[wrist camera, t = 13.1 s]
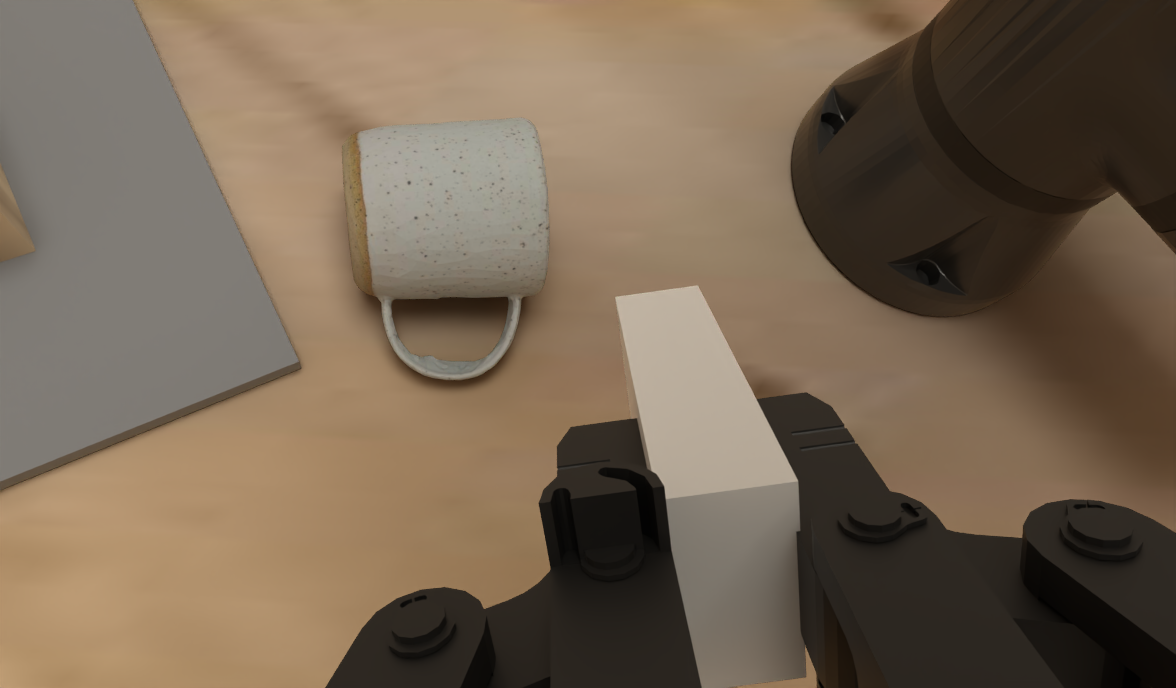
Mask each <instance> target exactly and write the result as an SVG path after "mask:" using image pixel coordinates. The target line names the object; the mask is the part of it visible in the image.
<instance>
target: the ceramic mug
mask: <svg viewBox="0 0 1176 688" xmlns="http://www.w3.org/2000/svg"><path fill="white" fill-rule="evenodd" d="M342 164H343V184H344V194H345V203H346V214H347V224H348V235H349V245H350V253H351V261H352V270H353V277H354V281H355V283H356V284H357V286H358V288H359V289H361V290H362V291H363V292H365V293H366V294H368V295H372V296H375V297H377V298H378V299H379V300H380V302H381V307H382V318H383V323H384V328H385V331H386V334H387V337H388V340H389V342H390V344H391V346H392V348H393V350H394V351H395V353H396V354H397V355H398V357H399V358H400V359H401V360H402V361H403V362H404V363H405V364H406V365H408V366H409V367H410V368H412V369H413V370H415V371H417V372H418V373H420V374H422V375H424V376H427V377H432V378H437V379H443V380H464V379H469V378H474V377H477V376H480V375H481V374H483V373H484V372H486V371H487V370H489V369H491V368H493V367H494V366H495V365H496V364H497V363H498V361H499V360H500V359H501V358H502V357H503V355H504V354H505V353H506V351H507V350H508V348H509V346H510V345H511V343H512V340H513V338H514V335H515V332H516V329H517V326H518V321H519V315H520V310H521V299H522V298H523V297H526V296H534V295H536V294H538V293H539V292H540V291H541V289H542V288H543V286H544V283H545V278H546V274H547V269H548V256H549V204H548V188H547V181H546V173H545V165H544V159H543V155H542V150H541V145H540V140H539V136H538V133H537V130H536V128H535V126H534V125H533V124H532V123H531V122H530V121H529V120H527V119H525V118H509V119H499V120H479V121H460V122H446V123H434V124H416V125H394V126H384V127H378V128H374V129H370V130H366V131H361V132H357V133H355V134H353V135H351V136H350V137H349V138H348V139H347V140H346V141H345V143H344V144H343V146H342ZM441 297H469V298H481V297H507V298H508V301H509V305H508V314H507V319H506V323H505V327H504V330H503V333H502V335H501V338H500V340H499V342H498V343H497V345H496V346H495V348H494V349H493V351H492V352H491V353H490V354H488V355H487V357H485V358H483V359H479V360H477V361H474V362H472V361H444V360H437V359H435V358H434V357H433V356H424V357H420V356H417V355H413V354H411V353H410V352H409V351H408V350H407V349H406V347H405V346H404V345H403V344H402V342H401V341H400V339H399V337H398V334H397V332H396V330H395V326H394V322H393V319H392V310H391V304H392V301H393V300H394V299H439V298H441Z"/></svg>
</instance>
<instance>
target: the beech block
mask: <svg viewBox="0 0 1176 688" xmlns="http://www.w3.org/2000/svg"><path fill="white" fill-rule="evenodd" d="M34 251H36V250H35V247H34V245H33V242H32V240H31V237H30V235H29V232H28V230H27V228H26V225H25V223H24V220H23V218H22V215H21V213H20V210H19V208H18V205H17V203H16V200H15V198H14V195H13V193H12V191H11V188H10V186H9V183H8V181H7V178H6V176H5V173H4V171H3V168H2V166H1V163H0V262H3V261H6V260H9V259H12V258H15V257H18V256H21V255H25V254H28V253H31V252H34Z"/></svg>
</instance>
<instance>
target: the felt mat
mask: <svg viewBox="0 0 1176 688" xmlns="http://www.w3.org/2000/svg"><path fill="white" fill-rule="evenodd" d="M0 163H1V166H2V168H3V171H4V173H5V176H6V178H7V181H8V183H9V186H10V188H11V191H12V193H13V195H14V198H15V200H16V203H17V205H18V208H19V210H20V213H21V215H22V218H23V220H24V223H25V225H26V228H27V230H28V232H29V235H30V237H31V240H32V242H33V245H34V247H35V250H36V251H34V252H31V253H28V254H25V255H21V256H18V257H15V258H12V259H9V260H6V261H3V262H0V490H2V489H5V488H7V487H9V486H12V485H14V484H17V483H19V482H22V481H24V480H27V479H29V478H32V477H34V476H37V475H39V474H42V473H44V472H46V471H49V470H51V469H54V468H56V467H59V466H61V465H64V464H66V463H69V462H71V461H74V460H76V459H79V458H81V457H84V456H86V455H88V454H91V453H93V452H96V451H98V450H101V449H103V448H106V447H108V446H111V445H113V444H116V443H118V442H121V441H123V440H125V439H128V438H130V437H133V436H135V435H138V434H140V433H143V432H145V431H148V430H150V429H153V428H155V427H158V426H160V425H162V424H165V423H167V422H170V421H172V420H175V419H177V418H180V417H182V416H185V415H187V414H190V413H192V412H195V411H197V410H199V409H202V408H204V407H207V406H209V405H212V404H214V403H217V402H219V401H222V400H224V399H227V398H229V397H232V396H234V395H237V394H239V393H241V392H244V391H246V390H249V389H251V388H254V387H256V386H259V385H261V384H264V383H266V382H269V381H271V380H274V379H276V378H278V377H281V376H283V375H286V374H288V373H291V372H293V371H296V370H298V369H301V366H300V363H299V360H298V358H297V356H296V354H295V352H294V349H293V347H292V345H291V343H290V341H289V339H288V336H287V334H286V332H285V330H284V328H283V326H282V323H281V321H280V319H279V317H278V315H277V313H276V310H275V308H274V306H273V304H272V302H271V300H270V297H269V295H268V293H267V291H266V289H265V287H264V284H263V282H262V280H261V278H260V276H259V274H258V271H257V269H256V267H255V265H254V263H253V261H252V258H251V256H250V254H249V252H248V250H247V247H246V245H245V243H244V241H243V239H242V237H241V234H240V232H239V230H238V228H237V226H236V224H235V221H234V219H233V217H232V215H231V213H230V211H229V208H228V206H227V204H226V202H225V200H224V198H223V195H222V193H221V191H220V189H219V187H218V185H217V182H216V180H215V178H214V176H213V174H212V172H211V169H210V167H209V165H208V163H207V161H206V159H205V156H204V154H203V152H202V150H201V148H200V146H199V143H198V141H197V139H196V137H195V135H194V133H193V130H192V128H191V126H190V124H189V122H188V120H187V117H186V115H185V113H184V111H183V109H182V106H181V104H180V102H179V100H178V98H177V96H176V93H175V91H174V89H173V87H172V85H171V83H170V80H169V78H168V76H167V74H166V72H165V70H164V67H163V65H162V63H161V61H160V59H159V57H158V54H157V52H156V50H155V48H154V46H153V44H152V41H151V39H150V37H149V35H148V33H147V31H146V28H145V26H144V24H143V22H142V20H141V18H140V15H139V13H138V11H137V9H136V7H135V5H134V2H133V0H0Z"/></svg>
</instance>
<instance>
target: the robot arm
mask: <svg viewBox="0 0 1176 688" xmlns="http://www.w3.org/2000/svg"><path fill="white" fill-rule="evenodd" d="M792 176H793V184H794V189H795V193H796V197H797V201H798V204H799V207H800V210H801V212H802V215H803V217H804V219H805V222H806V224H807V226H808V228H809V229H810V231H811V233H812V235H813V237H814V238H815V240H816V241H817V243H818V244H819V246H820V247H821V248H822V250H823V251H824V252H825V254H826V255H827V256H828V257H829V259H830V260H831V261H832V262H833V263H834V264H835V265H836V266H837V267H838V268H839V269H840V270H841V271H842V272H843V273H844V274H845V275H846V276H847V277H848V278H849V279H851V280H852V281H853V282H854V283H855V284H857V285H858V286H860V287H861V288H862V289H864V290H865V291H867V292H868V293H870V294H871V295H873V296H875V297H877V298H878V299H880V300H882V301H884V302H886V303H888V304H890V305H893V306H895V307H898V308H900V309H903V310H906V311H910V312H913V313H918V314H923V315H929V316H958V315H964V314H968V313H972V312H975V311H978V310H981V309H983V308H985V307H987V306H989V305H991V304H993V303H995V302H997V301H998V300H1000V299H1002V298H1004V297H1006V296H1008V295H1010V294H1012V293H1013V292H1015V291H1016V290H1018V289H1020V288H1021V287H1022V286H1023V285H1025V284H1026V283H1027V282H1028V281H1030V280H1031V279H1032V278H1033V277H1034V276H1035V275H1036V274H1037V273H1038V272H1039V270H1040V269H1041V268H1042V267H1043V266H1044V264H1045V263H1046V262H1047V261H1048V259H1049V258H1050V257H1051V256H1052V254H1053V253H1054V252H1055V251H1056V249H1057V248H1058V247H1059V246H1060V245H1061V243H1062V242H1063V241H1064V240H1065V238H1066V237H1067V236H1068V235H1069V233H1070V232H1071V231H1072V230H1073V228H1074V227H1075V226H1076V225H1077V223H1078V222H1079V221H1080V220H1081V218H1082V217H1083V216H1084V215H1085V214H1086V212H1087V211H1088V210H1089V209H1090V208H1091V207H1093V206H1095V205H1096V204H1098V203H1099V202H1101V201H1103V200H1104V199H1106V198H1108V197H1109V196H1111V195H1113V194H1114V193H1117V192H1118V193H1119V194H1120V195H1121V196H1122V197H1123V198H1124V199H1125V200H1126V201H1127V202H1128V203H1129V204H1130V205H1131V206H1132V207H1133V208H1134V209H1135V211H1136V212H1137V213H1138V214H1139V215H1140V216H1141V217H1142V218H1143V219H1144V220H1145V221H1146V222H1147V223H1148V224H1149V225H1150V226H1151V228H1152V229H1153V230H1154V231H1155V232H1156V234H1157V235H1158V236H1159V237H1160V238H1161V239H1162V240H1163V241H1164V242H1165V243H1166V244H1167V245H1168V246H1169V247H1170V249H1171V250H1172V251H1173V252H1174V253H1175V254H1176V0H950V1H949V2H948V3H947V4H946V6H945V7H944V8H943V9H942V10H941V11H940V12H939V13H938V14H937V16H936V17H935V18H934V19H933V20H932V21H931V22H930V23H929V24H928V25H927V26H926V27H925V28H924V29H923V30H921V31H919V32H918V33H916V34H914V35H912V36H910V37H908V38H906V39H904V40H903V41H901V42H899V43H897V44H895V45H893V46H891V47H890V48H888V49H886V50H884V51H882V52H880V53H878V54H876V55H875V56H873V57H871V58H869V59H867V60H865V61H863V62H861V63H860V64H858V65H856V66H854V67H852V68H851V69H849V70H847V71H846V72H845V73H843V74H842V75H841V76H840V77H838V78H837V79H836V80H835V81H834V82H833V83H832V84H831V85H830V86H829V87H828V88H827V89H826V91H825V92H824V93H823V94H822V95H821V97H820V98H819V99H818V100H817V101H816V103H815V104H814V105H813V106H812V107H811V109H810V110H809V111H808V113H807V114H806V116H805V117H804V119H803V121H802V123H801V125H800V127H799V129H798V132H797V135H796V138H795V142H794V147H793V154H792ZM615 300H616V308H617V315H618V323H619V331H620V339H621V347H622V354H623V362H624V370H625V378H626V386H627V394H628V401H629V409H630V417H631V419H627V420H619V421H612V422H605V423H597V424H590V425H583V426H576V427H571V428H570V429H569V430H568V432H567V433H566V435H565V436H564V437H563V439H562V440H561V442H560V443H559V444H558V446H557V468H558V470H557V477H556V478H555V479H554V480H553V481H552V482H551V483H550V484H549V485H548V486H547V487H546V488H545V489H544V490H543V493H542V496H541V499H540V501H539V507H540V513H541V518H542V523H543V529H544V534H545V540H546V545H547V551H548V556H549V561H550V567H551V570H550V572H549V573H548V574H547V575H546V576H545V577H544V578H543V579H542V580H541V581H540V582H539V583H538V584H536V585H535V586H534V587H532V588H531V589H529V590H528V591H526V592H525V593H523V594H521V595H519V596H516V597H514V598H512V599H510V600H508V601H505V602H503V603H500V604H497V605H494V606H492V607H489V608H486V609H483V607H482V604H481V602H480V601H479V600H478V599H476V598H475V597H473V596H472V595H470V594H469V593H467V592H466V591H462V590H457V589H451V588H446V587H443V588H433V589H424V590H419V591H416V592H414V593H411V594H408V595H405V596H402V597H400V598H397V599H396V600H394V601H393V602H391V603H390V604H388V605H386V606H385V607H383V608H382V609H380V610H379V611H377V612H376V613H375V614H374V616H373V617H372V618H371V619H370V620H369V621H368V622H367V623H366V625H365V626H364V627H363V628H362V629H361V631H360V633H359V634H358V636H357V637H356V639H355V641H354V642H353V644H352V645H351V647H350V649H349V650H348V652H347V654H346V655H345V657H344V658H343V660H342V662H341V663H340V665H339V666H338V668H337V670H336V671H335V673H334V675H333V676H332V678H331V679H330V681H329V683H328V684H327V686H326V687H325V688H728V687H735V686H743V685H751V684H758V683H766V682H773V681H781V680H789V679H796V678H804V677H806V659H805V645H806V648H807V650H808V653H809V656H810V658H811V661H812V663H813V666H814V668H815V671H816V673H817V688H1176V533H1175V532H1173V531H1171V530H1170V529H1168V528H1166V527H1165V526H1163V525H1161V524H1160V523H1158V522H1156V521H1155V520H1153V519H1151V518H1148V517H1146V516H1144V515H1142V514H1140V513H1137V512H1135V511H1133V510H1131V509H1129V508H1126V507H1122V506H1117V505H1113V504H1109V503H1105V502H1102V501H1094V500H1074V499H1070V500H1064V501H1057V502H1051V503H1046V504H1045V505H1043V506H1041V507H1039V508H1037V509H1035V510H1033V511H1031V512H1030V514H1029V516H1028V517H1027V519H1026V521H1025V523H1024V525H1023V537H1022V538H1014V537H1000V536H986V535H974V534H966V533H959V532H954V531H950V530H947V529H946V528H945V527H944V525H943V524H942V523H941V521H940V520H939V519H938V517H937V516H936V515H935V514H934V513H933V512H932V511H931V510H929V509H928V508H927V507H926V506H925V505H924V504H923V503H921V502H919V501H917V500H915V499H912V498H910V497H908V496H906V495H903V494H901V493H896V492H890V491H889V489H888V488H887V486H886V485H885V483H884V482H883V481H882V479H881V478H880V476H879V475H878V473H877V472H876V470H875V469H874V467H873V466H872V465H871V463H870V462H869V460H868V459H867V457H866V456H865V454H864V453H863V452H862V450H861V449H860V447H859V446H858V444H855V441H854V439H853V437H852V436H851V434H850V433H849V431H848V430H847V428H844V424H843V423H842V421H841V420H840V418H839V417H838V415H837V414H836V412H835V411H834V410H833V408H832V407H831V406H830V405H828V404H826V403H824V402H823V401H821V400H819V399H817V398H815V397H814V396H812V395H810V394H808V393H807V392H806V393H799V394H791V395H784V396H777V397H769V398H762V399H756V398H755V396H754V394H753V392H752V390H751V388H750V386H749V384H748V382H747V380H746V378H745V376H744V374H743V372H742V371H741V369H740V367H739V365H738V363H737V361H736V359H735V357H734V355H733V353H732V351H731V349H730V347H729V345H728V343H727V341H726V339H725V337H724V335H723V333H722V332H721V330H720V328H719V326H718V324H717V322H716V320H715V318H714V316H713V314H712V312H711V310H710V308H709V306H708V304H707V302H706V300H705V298H704V296H703V294H702V293H701V291H700V289H699V287H698V285H697V286H690V287H683V288H676V289H668V290H661V291H654V292H647V293H640V294H633V295H625V296H618V297H615Z"/></svg>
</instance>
